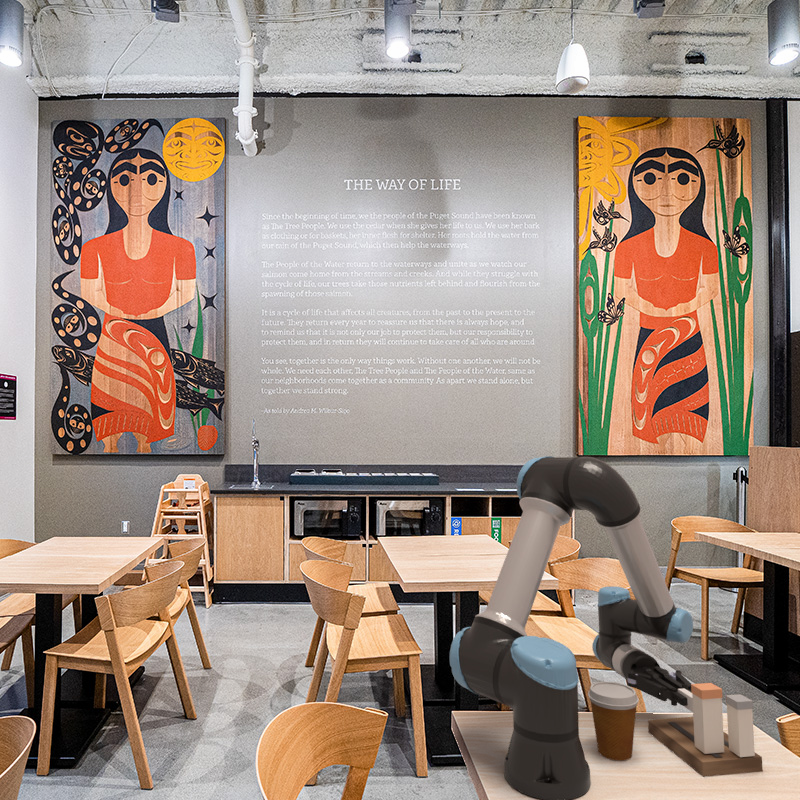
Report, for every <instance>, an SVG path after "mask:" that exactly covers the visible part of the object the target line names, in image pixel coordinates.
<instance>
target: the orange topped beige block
mask: <svg viewBox="0 0 800 800" xmlns="http://www.w3.org/2000/svg"><path fill="white" fill-rule="evenodd" d="M691 692H692V697H693V712H692V714H693V715H692V717H693V719H694V741H695V747H696V748H698V749H699V750H700V751H702V752H703V753H704V754H709V753H721V752H724V735H723V732H724V719H723V718H724V717H723V716H724V715H723V689H722V687H719V686H717V685H716V684H713V683H712V682H705V683H691Z"/></svg>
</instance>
